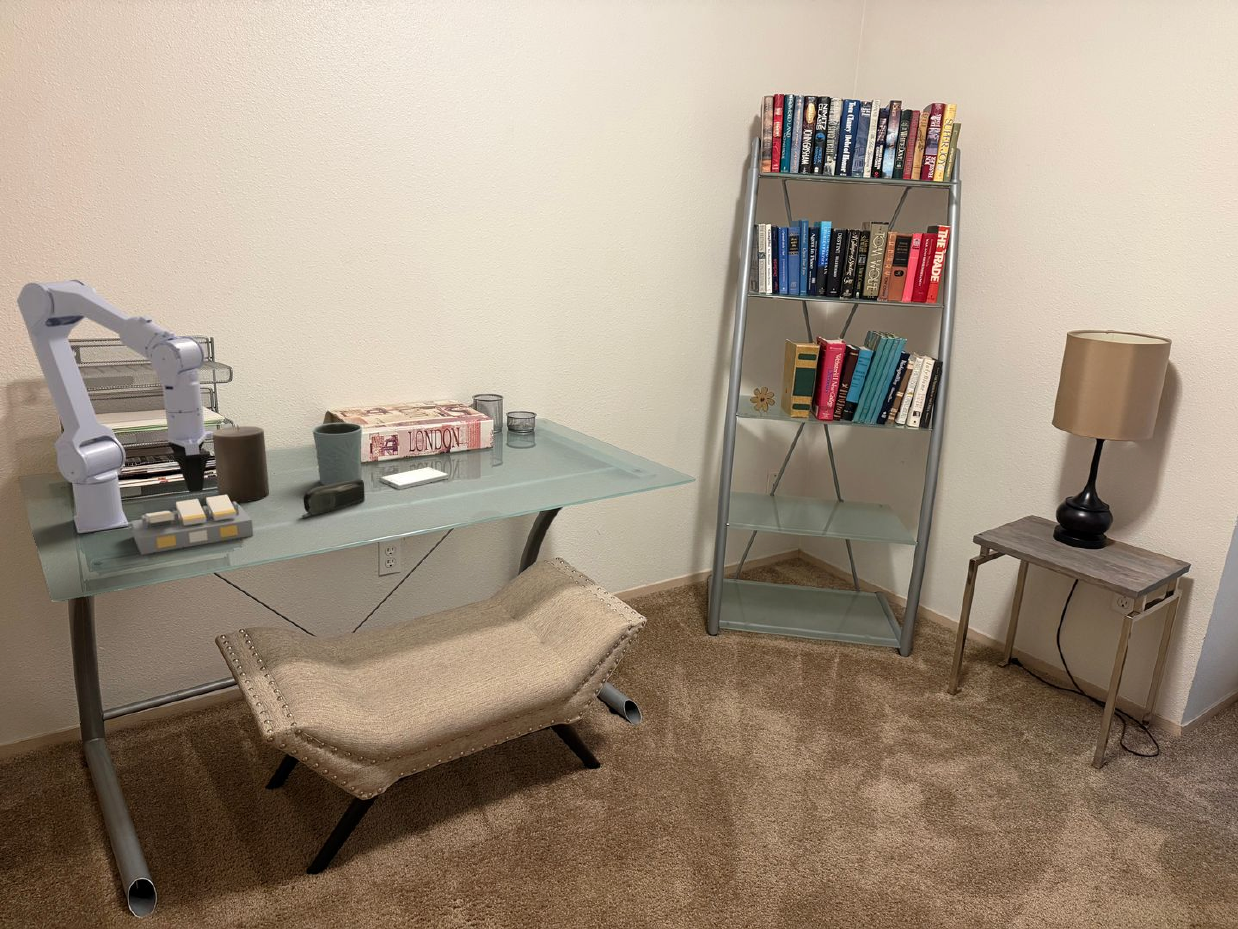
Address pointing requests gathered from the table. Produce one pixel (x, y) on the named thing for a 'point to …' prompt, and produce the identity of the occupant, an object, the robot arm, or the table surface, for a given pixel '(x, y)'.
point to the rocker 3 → (221, 507)
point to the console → (189, 531)
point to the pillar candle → (241, 463)
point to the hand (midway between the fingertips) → (193, 485)
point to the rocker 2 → (190, 512)
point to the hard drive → (413, 478)
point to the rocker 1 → (159, 516)
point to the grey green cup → (338, 452)
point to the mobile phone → (333, 497)
